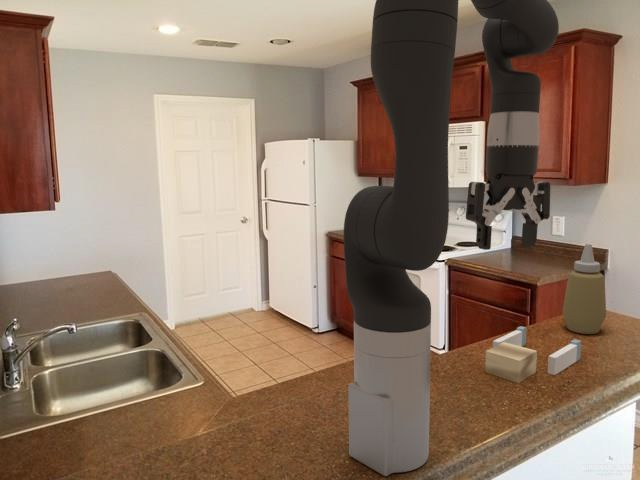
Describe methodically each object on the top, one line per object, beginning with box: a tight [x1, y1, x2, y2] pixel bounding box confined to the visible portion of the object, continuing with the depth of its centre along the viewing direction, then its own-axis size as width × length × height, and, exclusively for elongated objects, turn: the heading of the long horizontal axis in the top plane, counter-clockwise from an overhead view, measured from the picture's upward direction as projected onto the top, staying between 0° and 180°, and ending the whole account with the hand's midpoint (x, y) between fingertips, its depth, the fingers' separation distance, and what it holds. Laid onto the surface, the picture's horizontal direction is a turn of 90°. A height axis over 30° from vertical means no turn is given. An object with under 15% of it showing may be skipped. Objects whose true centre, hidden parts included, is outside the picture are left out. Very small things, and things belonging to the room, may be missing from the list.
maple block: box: [484, 342, 538, 384], centre depth 88 cm, size 6×6×4 cm
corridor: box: [492, 325, 582, 376], centre depth 94 cm, size 10×11×3 cm
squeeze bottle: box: [562, 244, 607, 335], centre depth 107 cm, size 8×8×18 cm
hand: (506, 247), depth 83 cm, fingers open, 8 cm apart
